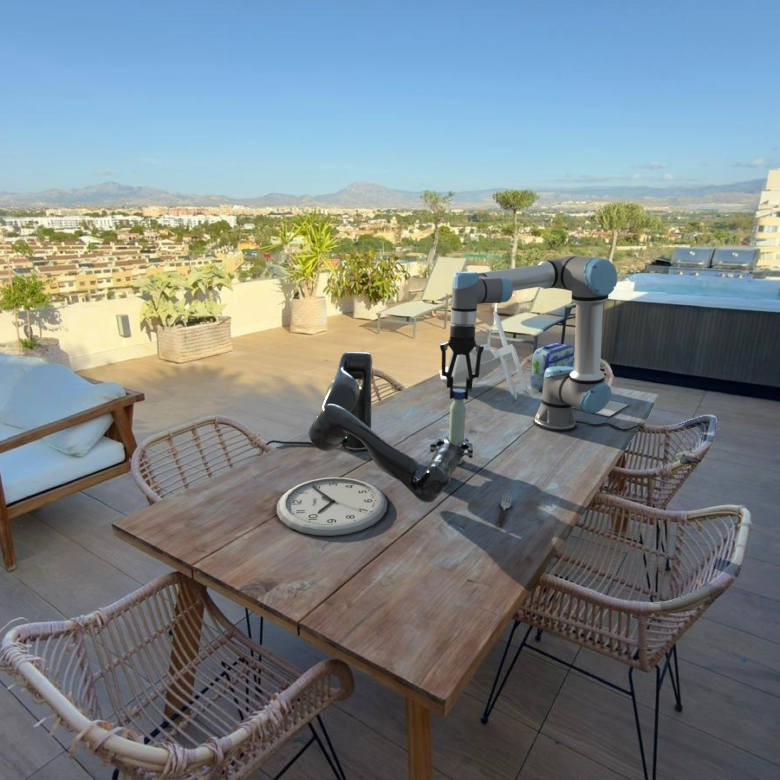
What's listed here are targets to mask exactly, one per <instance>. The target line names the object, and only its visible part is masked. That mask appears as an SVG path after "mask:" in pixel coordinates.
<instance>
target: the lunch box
mask: <svg viewBox="0 0 780 780" xmlns="http://www.w3.org/2000/svg"><path fill="white" fill-rule="evenodd" d="M574 362H575V346H574V345H573V344H564V343H559V342H556V343H551V344H548V345H544V346H542V347H540V348H537V349H536V350H534V353H533V355H532V359H531V366H530V367H531V369H530V387H531V388H532V389H535V390H541V391H542V390H543V379H544V375H545V370H546V369H547V368H549V367H555V366H567V367H574Z"/></svg>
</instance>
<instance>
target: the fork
mask: <svg viewBox="0 0 780 780" xmlns="http://www.w3.org/2000/svg"><path fill="white" fill-rule="evenodd" d="M505 494H506V495H505ZM505 494H502V499H501V501H500V507H501V508H502V510H501V512H500V515H499V519H498V525H497V528H500V526H501V524H502V522H503V521H504V519H505V512H506V509H509V508H510V507H511V506H512V498H513V497H512V496H513V494H510V495H508V497H507V493H505ZM504 498H505V499H504Z"/></svg>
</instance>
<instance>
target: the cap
mask: <svg viewBox="0 0 780 780" xmlns="http://www.w3.org/2000/svg"><path fill="white" fill-rule="evenodd" d="M465 394H466V389H464V388H453V394H452V399H453V400H454V399H457V400H462V399H463V400H465Z"/></svg>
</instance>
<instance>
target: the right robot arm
mask: <svg viewBox="0 0 780 780" xmlns="http://www.w3.org/2000/svg"><path fill="white" fill-rule="evenodd" d="M617 283H618V272H617V269H616V266H615V264H613V262H611V261H610V260H609V259H607V258H601V257H597V256H595V257H593V256H578V255H569V256H562V257H558V258H553V259H547V260H542V261H540V262H539V263H538V264H534V265H526V266H519V267H512V268H506V269H498V270H491V271H483V272H476V271H456V272H455V273H454V274H453V277H452V283H451V284H452V285H451V309H450V323H451V324H450V325H449V326H450V327H449V329H450V330H449V339H448V341H447V342H445V343H440V344H439V349H440V352H441V369H442V376H445V377H447V385H446V388H447V389H448V388H449V399H450V400H452V399H453V398H452V394H453V389H454V384H453V377H452V372H453V368H454V365H455V361H456V358H457V355H461V354H462V355H466V362H467V368H468V375H469V377H466V383H465V390H466V394H465V399H464V400H465V401H466V400H468V399H469V390H472V388H473V383H474V382H473V378H478V377H479V370H480V361H481V354H482V352H483V350H484V347H483V344H479V343H477V342H476V324H477V323H476V322H477V309H478V305H482V304H501V303H507V302H509V301H510V300H511V299H512V297H513V293H514V292H515V291H522V290H528V289H534V288H541V289H545V290H548V289H558V290H565V291H570V292H571V301H573V302H574V304H575V334H574V364H573V367H567V366H555V367H549V368H547V369H546V370H545V375H544V379H543V390H541V391H542V392H541V402H540V405H539V407H538V410H537V411H536V413H535V416H534V424H535V425H536V426H537V427H539V428H542V429H544V430H549V431H556V432H567V431H572V430H574V429H575V428H576V423H577V424H584V425H588V426H592V427H598V426H603V425H606V426H611V427H612V428H615V429H617V430H620V431H631V430H633V429H635V428H640V429H641V430H642V429H643V430H645V428H644V426H642V425H641V424H635V425H634V426H632V427H628V428H623V427H620V426H617V425H615V424H613V423H609V422H600V423H592V422H587V421H580V420H576V418H575V417H576V416H575V413H574V409H576V408H578V409H577V410H580V411H581V412H583V413H584V412H586V413H588V414H596V413H597V412H599V411H601V410H602V409H603V408H604V407H605V406H606V405H607V403H608V402H609V400H610V399H611V396H612V388H611V387H610V386H609V384H608V383H606V382H605V373H604V372H603V371H602V370H601V361H602V360H601V357H602V339H603V338H602V337H603V317H604V315H603V314H604V312H603V311H604V303H605V302H606V301H608V300H609V295H610V294H611V293H613V292H614V290H615V287H616V286H617ZM448 347H449V348H450V350H451V352H452V351H453V355H452V359H451V363H450V366H449V365H448V366H449V370H448V372H446V367H447V366H446V365H447V351H448ZM474 347H476V351H477V355H476V365H475V373H472V368H471V361H470V355H469V353H470V352H471V351H472V349H473V348H474ZM610 401H611V400H610ZM574 407H575V408H574Z"/></svg>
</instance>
